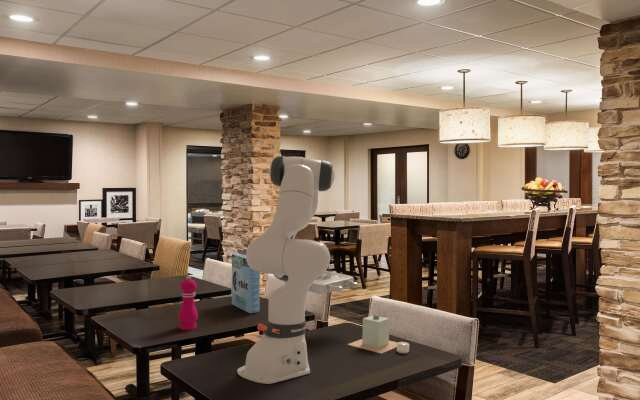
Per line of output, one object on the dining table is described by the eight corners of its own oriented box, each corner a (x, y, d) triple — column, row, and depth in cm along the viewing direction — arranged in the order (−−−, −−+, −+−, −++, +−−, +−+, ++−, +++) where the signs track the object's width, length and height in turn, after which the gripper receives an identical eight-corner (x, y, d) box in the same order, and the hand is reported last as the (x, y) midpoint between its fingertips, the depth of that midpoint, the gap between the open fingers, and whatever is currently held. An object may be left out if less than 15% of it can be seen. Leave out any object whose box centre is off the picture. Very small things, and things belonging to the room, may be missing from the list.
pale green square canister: (378, 348, 184) (379, 318, 184) (362, 344, 188) (362, 315, 188) (388, 344, 189) (389, 315, 189) (372, 340, 193) (373, 311, 193)
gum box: (259, 312, 230) (260, 258, 229) (248, 313, 228) (249, 259, 227) (241, 303, 247) (241, 252, 246) (230, 304, 244) (231, 253, 243)
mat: (381, 354, 179) (381, 353, 179) (347, 345, 188) (347, 344, 188) (403, 344, 190) (403, 344, 190) (370, 336, 199) (370, 335, 199)
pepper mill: (192, 331, 200) (193, 277, 199) (174, 329, 202) (175, 276, 201) (201, 326, 207) (201, 274, 206) (183, 324, 209) (184, 273, 208)
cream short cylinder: (405, 354, 179) (405, 346, 179) (394, 352, 182) (394, 343, 181) (411, 352, 182) (411, 343, 182) (400, 349, 185) (401, 341, 185)
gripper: (301, 277, 197) (331, 283, 188) (336, 270, 212) (365, 275, 204) (300, 294, 197) (330, 301, 188) (335, 286, 213) (364, 291, 204)
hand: (348, 287), depth 196 cm, fingers open, 8 cm apart
